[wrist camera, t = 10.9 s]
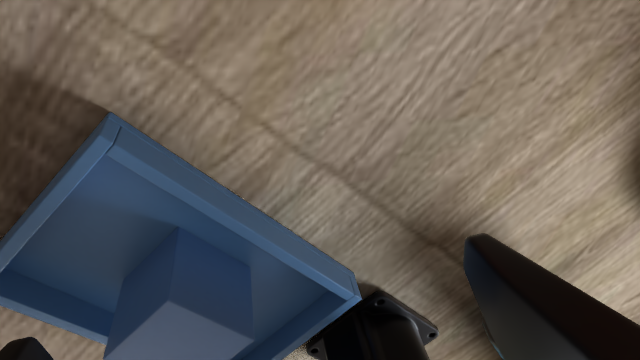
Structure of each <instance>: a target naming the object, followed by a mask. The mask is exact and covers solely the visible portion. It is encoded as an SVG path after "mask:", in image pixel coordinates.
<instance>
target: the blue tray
mask: <svg viewBox="0 0 640 360" xmlns="http://www.w3.org/2000/svg"><path fill="white" fill-rule="evenodd" d="M177 227H180V228H182V229H184V230H186V231H188V232H189V233H191V234H193V235H195V236H196V237H198V238H200V239H202V240H203V241H205V242H207V243H209V244H210V245H212V246H214V247H216V248H217V249H219V250H221V251H223V252H224V253H226V254H228V255H230V256H231V257H233V258H235V259H237V260H238V261H240V262H242V263H244V264H245V265H247V266H249V267H250V268H251V285H252V303H253V320H254V338H255V339H254V341H253V342H252V343H250V344H249V345H248V346H247V347H245V348H244V349H243V350H241V351H240V352H239V353H238V354H236V355H235V356H234V357H233V358H231V359H230V360H282V359H284V358H285V357H286V356H288V355H289V354H290V353H291V352H293V351H294V350H295V349H297V348H298V347H299V346H301V345H302V344H303V343H305V342H306V341H307V340H309V339H310V338H311V337H313V336H314V335H315V334H317V333H318V332H319V331H321V330H322V329H323V328H325V327H326V326H327V325H329V324H330V323H331V322H333V321H334V320H335V319H336V318H338V317H339V316H340V315H342V314H343V313H344V312H346V311H347V310H348V309H350V308H351V307H352V306H354V305H355V304H356V303H358V302H359V301H360V300H361V299H362V298H361V295H360V292H359V289H358V285H357V282H356V279H355V276H354V273H353V272H352V271H350V270H349V269H347V268H346V267H344V266H343V265H341V264H340V263H338V262H337V261H335V260H334V259H332V258H331V257H329V256H328V255H326V254H325V253H323V252H322V251H320V250H318V249H317V248H315V247H314V246H312V245H311V244H309V243H308V242H306V241H305V240H303V239H302V238H300V237H299V236H297V235H296V234H294V233H293V232H291V231H290V230H288V229H287V228H285V227H284V226H282V225H281V224H279V223H278V222H276V221H275V220H273V219H272V218H270V217H269V216H267V215H266V214H264V213H263V212H261V211H260V210H258V209H257V208H255V207H254V206H252V205H251V204H249V203H248V202H246V201H244V200H243V199H241V198H240V197H238V196H237V195H235V194H234V193H232V192H231V191H229V190H228V189H226V188H225V187H223V186H222V185H220V184H219V183H217V182H216V181H214V180H213V179H211V178H210V177H208V176H207V175H205V174H204V173H202V172H201V171H199V170H198V169H196V168H195V167H193V166H192V165H190V164H189V163H187V162H186V161H184V160H183V159H181V158H180V157H178V156H177V155H175V154H174V153H172V152H171V151H169V150H167V149H166V148H164V147H163V146H161V145H160V144H158V143H157V142H155V141H154V140H152V139H151V138H149V137H148V136H146V135H145V134H143V133H142V132H140V131H139V130H137V129H136V128H134V127H133V126H131V125H130V124H128V123H127V122H125V121H124V120H122V119H121V118H119V117H118V116H116V115H115V114H113V113H112V112H109V113H108V114H107V115H106V117H105V118H104V119H103V120H102V121H101V123H100V124H99V125H98V126H97V127H96V128H95V130H94V131H93V132H92V133H91V134H90V136H89V137H88V138H87V139H86V140H85V141H84V143H83V144H82V145H81V146H80V147H79V149H78V150H77V151H76V152H75V153H74V154H73V156H72V157H71V158H70V159H69V160H68V162H67V163H66V164H65V165H64V166H63V167H62V169H61V170H60V171H59V172H58V173H57V175H56V176H55V177H54V178H53V179H52V180H51V182H50V183H49V184H48V185H47V186H46V188H45V189H44V190H43V191H42V192H41V194H40V195H39V196H38V197H37V198H36V199H35V201H34V202H33V203H32V204H31V205H30V207H29V208H28V209H27V210H26V211H25V212H24V214H23V215H22V216H21V217H20V218H19V220H18V221H17V222H16V223H15V224H14V225H13V227H12V228H11V229H10V230H9V231H8V233H7V234H6V235H5V236H4V237H3V238H2V240H1V241H0V306H3V307H6V308H8V309H11V310H14V311H16V312H19V313H22V314H24V315H27V316H30V317H32V318H35V319H38V320H40V321H43V322H46V323H48V324H51V325H54V326H57V327H59V328H62V329H65V330H67V331H70V332H73V333H75V334H78V335H81V336H83V337H86V338H89V339H91V340H94V341H97V342H99V343H102V344H105V345H107V341H108V337H109V334H110V330H111V326H112V322H113V318H114V314H115V310H116V306H117V302H118V298H119V295H120V291H121V287H122V283H123V280H124V279H125V278H126V277H127V276H128V275H129V274H130V273H131V272H132V271H133V270H134V269H135V268H136V267H137V266H138V265H140V264H141V263H142V262H143V261H144V260H145V259H146V258H147V257H148V256H149V255H150V254H151V253H152V252H153V251H154V250H155V249H156V248H157V247H158V246H159V245H160V244H161V243H162V242H163V241H164V240H165V239H166V238H167V237H168V236H169V235H170V234H171V233H172V232H173V231H174V230H175V229H176V228H177Z"/></svg>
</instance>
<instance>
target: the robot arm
mask: <svg viewBox="0 0 640 360" xmlns="http://www.w3.org/2000/svg"><path fill="white" fill-rule="evenodd" d="M463 267H464V271H465V274H466V277H467V279H468V281H469V284H470V286H471V289H472V291H473V293H474V296H475V298H476V300H477V303H478V305H479V307H480V310H481V312H482V314H483V317H484V319H485V322H486V324H487V326H488V329H489V331H490V333H491V335H492V337H493V339H494V341H495V343H496V345H497V347H498V349H499V351H500V352H501V354H502V356H503V358H504V360H640V325H638V324H636V323H635V322H633V321H631V320H630V319H628V318H626V317H625V316H623V315H621V314H620V313H618V312H616V311H615V310H613V309H611V308H610V307H608V306H606V305H605V304H603V303H601V302H600V301H598V300H596V299H595V298H593V297H591V296H590V295H588V294H586V293H585V292H583V291H581V290H580V289H578V288H576V287H575V286H573V285H571V284H570V283H568V282H566V281H565V280H563V279H561V278H560V277H558V276H556V275H555V274H553V273H551V272H550V271H548V270H546V269H545V268H543V267H541V266H540V265H538V264H536V263H535V262H533V261H531V260H530V259H528V258H526V257H525V256H523V255H521V254H520V253H518V252H516V251H515V250H513V249H511V248H510V247H508V246H506V245H505V244H503V243H501V242H500V241H498V240H496V239H495V238H493V237H491V236H490V235H488V234H485V233H481V234H477V235H472V236H468V237H467V238H466V239H465V244H464V259H463ZM438 335H439V331H438V329H437V327H436V326H435V325H433V324H432V323H430V322H429V321H427V320H426V319H424V318H423V317H421V316H420V315H418V314H417V313H415V312H414V311H412V310H411V309H409V308H408V307H406V306H405V305H403V304H402V303H400V302H399V301H397V300H396V299H394V298H393V297H391V296H390V295H388V294H387V293H385V292H383V291H379V292H376V293H374V294H372V295H371V296H370V297H368V298H367V299H366V300H364V301H363V302H362V303H360V304H359V305H358V306H356V307H355V308H354V309H352V310H351V311H350V312H349V313H347V314H346V315H345V316H343V317H342V318H341V319H339V320H338V321H337V322H335V323H334V324H333V325H331V326H330V327H329V328H327V329H326V330H325V331H323V332H322V333H321V334H319V335H318V336H317V337H315V338H314V339H313V340H311V341H310V342H309V343H308V344H307V345H306V349H307V354H308V355H310V356H312V357H314V358H316V359H318V360H430V359H429V357H428V355H427V352H426V350H425V347H424V346H425V345H426V344H428V343H429V342H431V341H432V340H434V339H435V338H436V337H438ZM0 360H53V358H52V357H51V355H50V354H49V353H48V352H47V351H46V350H45V348H44V347H43V346H42V345H41V344H40V343H39V342H38V340H37V339H35V338H33V337H27V338H22V339H18V340H14V341H11V342H9V343H8V344H7V345H6V346H5V347H4V348H3V349H2V350H1V351H0Z"/></svg>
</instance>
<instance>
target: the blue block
mask: <svg viewBox="0 0 640 360" xmlns="http://www.w3.org/2000/svg"><path fill="white" fill-rule="evenodd" d="M254 339H255V338H254V320H253V303H252V285H251V268H250V267H249V266H247V265H245V264H244V263H242V262H240V261H238V260H237V259H235V258H233V257H231V256H230V255H228V254H226V253H224V252H223V251H221V250H219V249H217V248H216V247H214V246H212V245H210V244H209V243H207V242H205V241H203V240H202V239H200V238H198V237H196V236H195V235H193V234H191V233H189V232H188V231H186V230H184V229H182V228H180V227H177V228H176V229H175V230H174V231H173V232H172V233H171V234H170V235H169V236H168V237H167V238H166V239H165V240H164V241H163V242H162V243H161V244H160V245H159V246H158V247H157V248H156V249H155V250H154V251H153V252H152V253H151V254H150V255H149V256H148V257H147V258H146V259H145V260H144V261H143V262H142V263H141V264H140V265H138V266H137V267H136V268H135V269H134V270H133V271H132V272H131V273H130V274H129V275H128V276H127V277H126V278H125V279H124V280H123V283H122V287H121V291H120V295H119V298H118V302H117V306H116V310H115V314H114V318H113V322H112V326H111V330H110V334H109V337H108V341H107V345H106V349H105V353H104V357H103V360H230V359H231V358H233V357H234V356H235V355H236V354H238V353H239V352H240V351H241V350H243V349H244V348H245V347H247V346H248V345H249V344H250V343H252V342H253V341H254Z"/></svg>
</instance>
